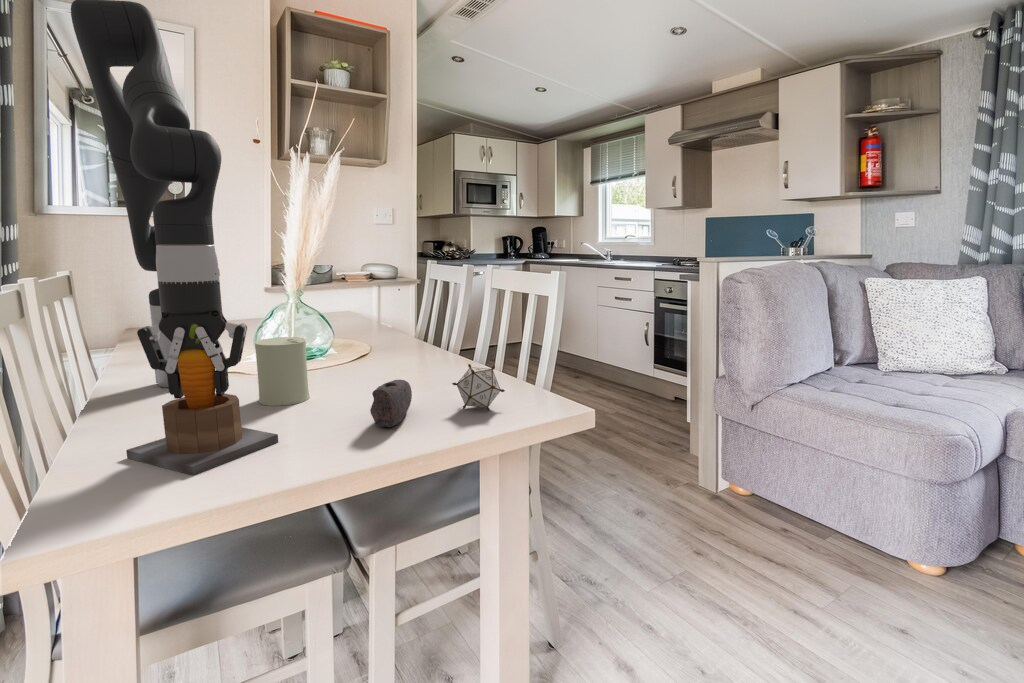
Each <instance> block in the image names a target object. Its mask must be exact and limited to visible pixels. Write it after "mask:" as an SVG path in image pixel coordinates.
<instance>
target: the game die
mask: <svg viewBox="0 0 1024 683" xmlns="http://www.w3.org/2000/svg"><path fill="white" fill-rule="evenodd" d="M467 366H468V369H467V371H466V372H465V373H464V375H463V376H462V377H461V378H460V379H459V380H458V381H457V383H456V382H452V383H451V384H452V385H453V386H457V389H458V391H459V394H460V396H461V399H462V400H463V403H464V405H463V406H462V410H465V409H466V408H467V407H477V408H485V409H486V411H488V412H491V411H490V410H491V409H490V407H489V406H490V405H491V404H492V403H493V401H494V400H495V399H496V398H497V397H498V395H499V394H500V392H502V393H504V392H506V390H505V389H504V388H501V387H500V384H499V382H498V379H497V377H496V375H495V372H494V370H495V369H496V365H492V367H491V368H485V367H484V368H483V367H472V364H470V363H468V365H467Z"/></svg>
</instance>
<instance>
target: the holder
mask: <svg viewBox="0 0 1024 683" xmlns="http://www.w3.org/2000/svg"><path fill="white" fill-rule="evenodd" d="M240 409H241V408H240V399H239V397H238V396H237V395H236V394H229V393H224V395H223V396H216V393H215V398H214V404H213V407H209V408H202V409H189V407H188V405H187V402H186V399H185V397H184V396H183V397H182V398H178V399H175V398H174V399H172V400H169V401H168V402H166V403H164V404H162V405H161V410H162V417H163V427H164V428H163V429H164V438H159V439H156V440H153V441H150V442H147V443H144V444H140V445H138V446H133V447H132V448H128V449H126V457H127V459H129V460H134V461H137V462H140V463H143V464H144V463H146V464H148V465H152V466H157V467H160V468H164V469H168V470H172V471H175V472H180V473H184V474H187V475H189V476H190V475H191V476H194V475H195V476H196V475H198V474H200V473H203V472H206V471H209V470H210V469H213V468H215V467H218V466H220V465H223V464H226V463H228V462H231V461H233V460H235V459H238V458H242V457H243V456H246V455H249V454H251V453H254V452H256V451H259V450H261V449H264V448H266V447H269V446H271V445H274V444H276V443H279V434H277V433H273V432H267V431H264V430H263V431H262V430H259V429H257V430H256V429H252V428H248V427H242V421H241V420H242V419H241V410H240Z"/></svg>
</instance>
